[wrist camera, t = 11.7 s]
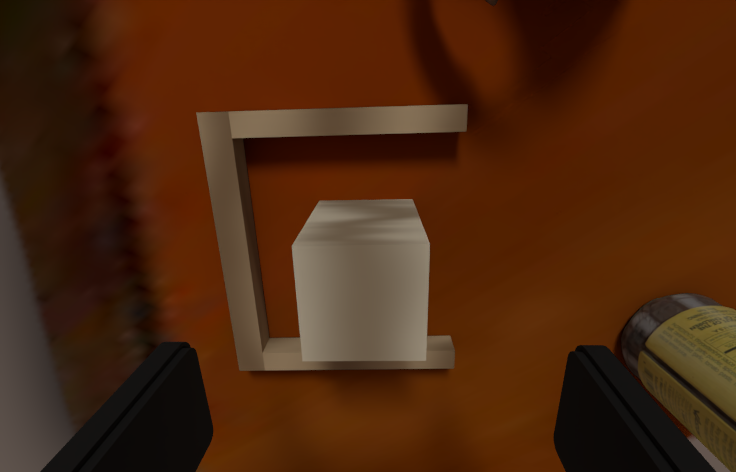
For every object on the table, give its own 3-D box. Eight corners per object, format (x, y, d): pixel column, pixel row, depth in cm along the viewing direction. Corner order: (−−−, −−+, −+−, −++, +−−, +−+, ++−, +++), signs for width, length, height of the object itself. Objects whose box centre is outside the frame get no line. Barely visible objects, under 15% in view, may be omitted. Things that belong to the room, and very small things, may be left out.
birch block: (412, 199, 20) (429, 244, 14) (411, 283, 22) (425, 360, 15) (319, 200, 20) (291, 246, 14) (324, 284, 22) (302, 361, 15)
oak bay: (461, 104, 19) (467, 104, 17) (449, 352, 23) (453, 368, 22) (210, 112, 19) (196, 112, 17) (247, 354, 24) (239, 370, 22)
